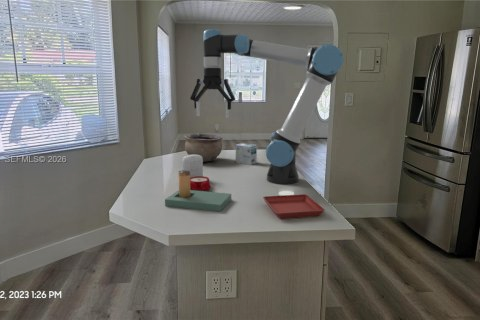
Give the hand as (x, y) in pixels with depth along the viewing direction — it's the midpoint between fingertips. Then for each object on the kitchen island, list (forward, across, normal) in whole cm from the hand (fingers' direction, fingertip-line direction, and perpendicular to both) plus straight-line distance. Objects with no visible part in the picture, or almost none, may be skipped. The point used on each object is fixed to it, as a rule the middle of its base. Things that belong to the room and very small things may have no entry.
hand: (212, 116), depth 165 cm
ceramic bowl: (+31, +21, -44) cm, 58 cm away
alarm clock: (+31, +3, +10) cm, 33 cm away
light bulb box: (+31, -4, -46) cm, 56 cm away
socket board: (+31, -4, +28) cm, 42 cm away
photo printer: (+31, +11, -2) cm, 33 cm away
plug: (+31, +2, +28) cm, 42 cm away
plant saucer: (+31, -40, +26) cm, 57 cm away
